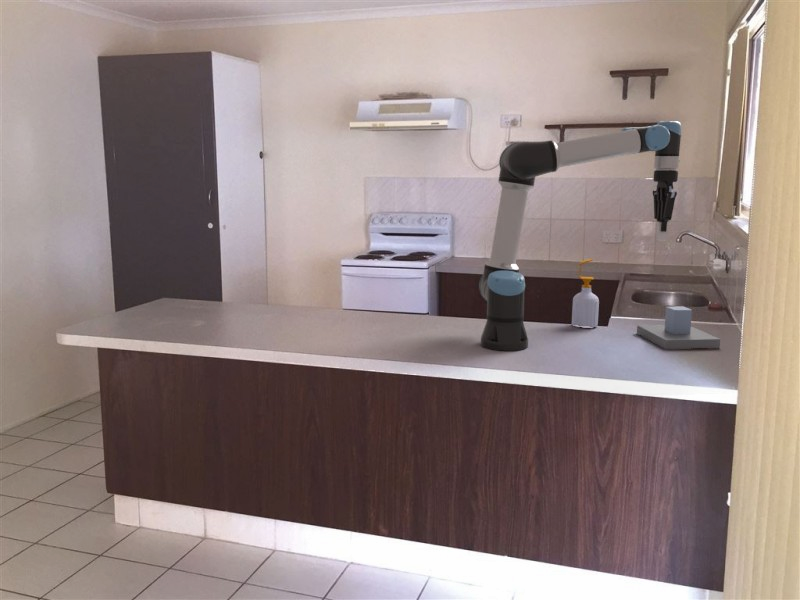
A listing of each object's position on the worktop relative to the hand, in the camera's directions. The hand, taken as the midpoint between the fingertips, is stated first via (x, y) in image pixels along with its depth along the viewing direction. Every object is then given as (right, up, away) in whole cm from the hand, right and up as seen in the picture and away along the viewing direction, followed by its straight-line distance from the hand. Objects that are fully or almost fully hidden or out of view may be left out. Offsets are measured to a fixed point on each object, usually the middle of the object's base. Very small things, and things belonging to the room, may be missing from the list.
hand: (661, 241), depth 246 cm
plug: (+5, -33, -2) cm, 33 cm away
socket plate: (+5, -33, -2) cm, 34 cm away
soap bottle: (-21, -29, +20) cm, 41 cm away
